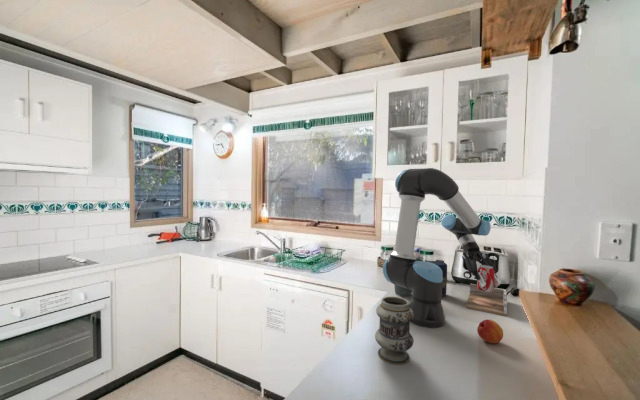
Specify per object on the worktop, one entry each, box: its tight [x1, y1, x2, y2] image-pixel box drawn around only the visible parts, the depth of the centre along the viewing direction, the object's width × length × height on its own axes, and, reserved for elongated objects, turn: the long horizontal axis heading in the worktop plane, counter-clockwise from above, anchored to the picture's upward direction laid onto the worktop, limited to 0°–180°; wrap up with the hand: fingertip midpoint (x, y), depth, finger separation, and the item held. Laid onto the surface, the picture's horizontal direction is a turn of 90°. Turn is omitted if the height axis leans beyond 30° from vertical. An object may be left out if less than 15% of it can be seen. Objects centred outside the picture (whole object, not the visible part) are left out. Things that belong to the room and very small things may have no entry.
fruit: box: [476, 319, 504, 344], centre depth 105 cm, size 8×8×8 cm
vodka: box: [393, 284, 412, 297], centre depth 153 cm, size 9×9×30 cm
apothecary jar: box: [374, 295, 415, 365], centre depth 94 cm, size 12×12×18 cm
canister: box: [429, 260, 448, 297], centre depth 154 cm, size 10×10×18 cm
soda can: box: [476, 264, 495, 293], centre depth 142 cm, size 7×7×12 cm
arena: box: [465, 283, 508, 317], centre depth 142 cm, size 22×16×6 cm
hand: (491, 285), depth 138 cm, fingers closed on soda can, 7 cm apart
